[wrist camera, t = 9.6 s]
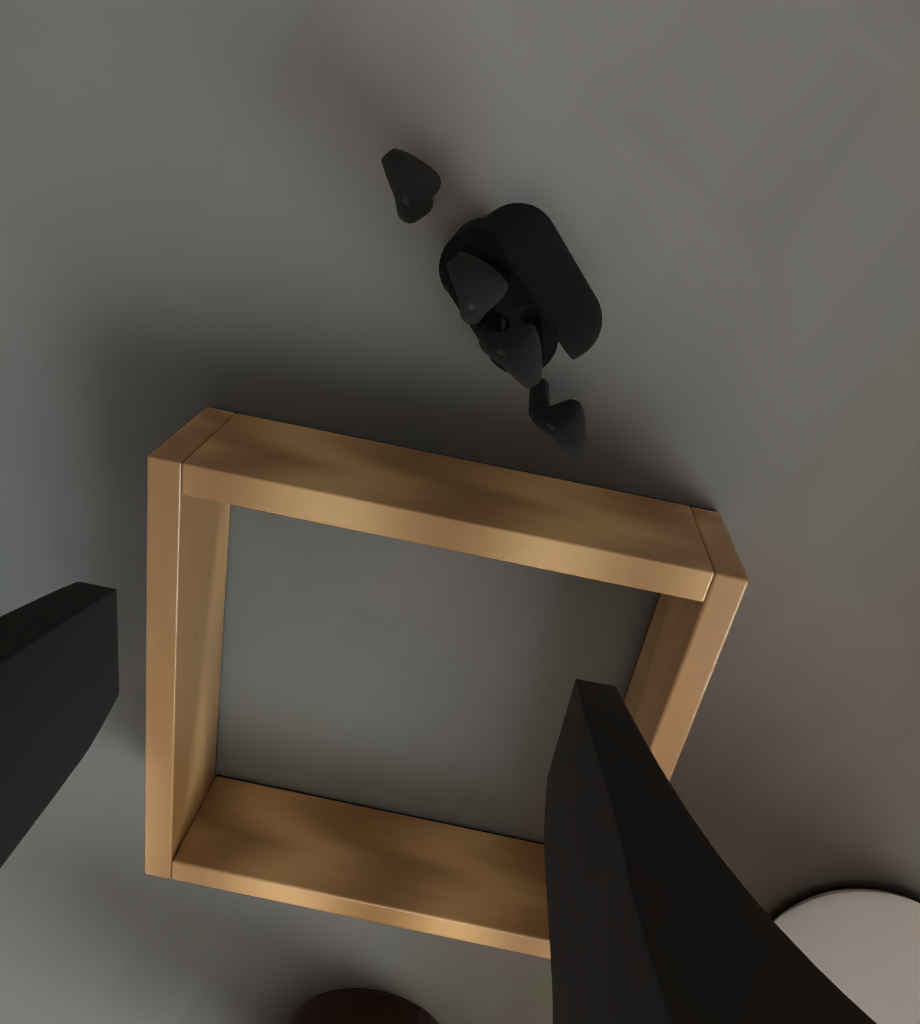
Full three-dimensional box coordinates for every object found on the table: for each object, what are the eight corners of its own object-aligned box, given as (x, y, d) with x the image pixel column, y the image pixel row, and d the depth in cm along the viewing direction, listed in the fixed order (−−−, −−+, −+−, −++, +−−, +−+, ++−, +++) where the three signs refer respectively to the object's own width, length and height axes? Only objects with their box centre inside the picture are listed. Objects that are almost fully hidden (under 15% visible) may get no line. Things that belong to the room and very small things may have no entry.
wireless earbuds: (392, 164, 18) (339, 177, 13) (486, 93, 17) (464, 81, 13) (554, 417, 20) (556, 502, 16) (644, 365, 19) (674, 438, 15)
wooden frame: (191, 787, 27) (144, 874, 24) (206, 406, 21) (145, 455, 18) (590, 871, 27) (595, 970, 24) (720, 511, 21) (751, 580, 18)
